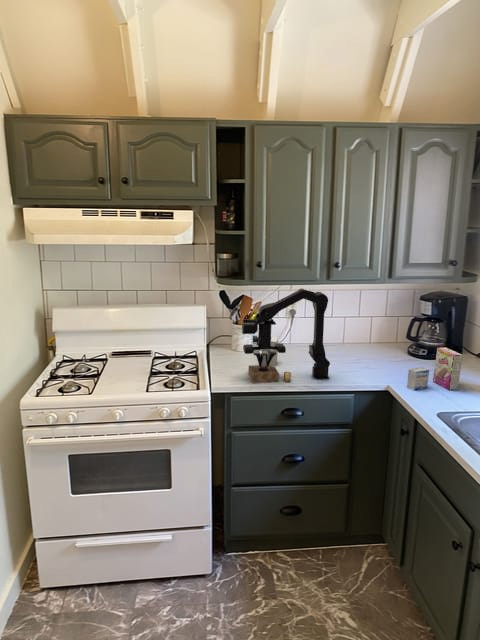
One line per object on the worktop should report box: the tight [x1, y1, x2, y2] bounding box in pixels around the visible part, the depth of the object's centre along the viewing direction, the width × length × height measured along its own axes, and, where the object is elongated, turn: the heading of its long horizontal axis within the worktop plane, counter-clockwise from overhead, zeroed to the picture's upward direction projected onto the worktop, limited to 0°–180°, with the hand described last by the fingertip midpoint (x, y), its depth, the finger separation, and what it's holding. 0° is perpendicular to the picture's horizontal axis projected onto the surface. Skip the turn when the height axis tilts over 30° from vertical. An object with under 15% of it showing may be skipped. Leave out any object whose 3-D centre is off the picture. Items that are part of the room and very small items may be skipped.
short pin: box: [283, 371, 292, 383], centre depth 213 cm, size 3×3×4 cm
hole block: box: [247, 364, 280, 384], centre depth 216 cm, size 12×12×4 cm
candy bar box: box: [432, 346, 464, 391], centre depth 210 cm, size 11×5×16 cm, turn 17°
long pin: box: [260, 352, 268, 371], centre depth 215 cm, size 3×3×10 cm
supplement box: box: [261, 336, 279, 367], centre depth 235 cm, size 7×7×13 cm
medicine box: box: [406, 366, 430, 391], centre depth 208 cm, size 8×4×9 cm, turn 114°
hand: (263, 366), depth 215 cm, fingers closed on long pin, 3 cm apart
